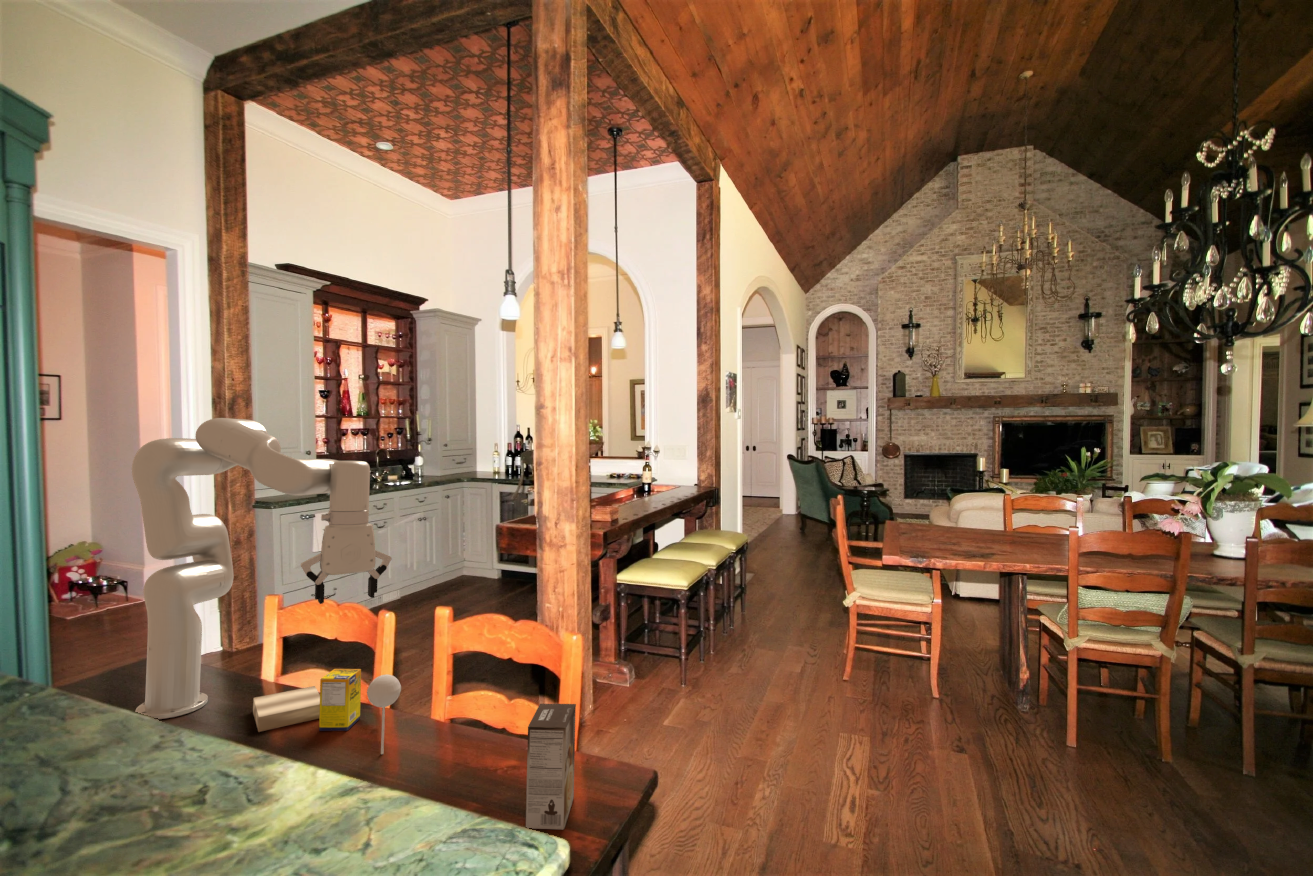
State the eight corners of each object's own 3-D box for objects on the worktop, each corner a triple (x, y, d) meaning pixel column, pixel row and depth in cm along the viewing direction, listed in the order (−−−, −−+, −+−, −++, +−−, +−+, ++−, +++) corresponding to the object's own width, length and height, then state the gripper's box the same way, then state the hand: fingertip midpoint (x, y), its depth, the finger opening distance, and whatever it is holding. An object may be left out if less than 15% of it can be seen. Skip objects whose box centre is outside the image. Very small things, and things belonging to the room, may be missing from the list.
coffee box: (537, 796, 104) (539, 701, 104) (574, 797, 104) (576, 702, 104) (524, 829, 95) (527, 725, 95) (565, 831, 95) (567, 727, 95)
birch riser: (252, 711, 134) (253, 698, 134) (314, 699, 142) (314, 686, 142) (258, 732, 125) (258, 717, 125) (323, 717, 132) (324, 703, 132)
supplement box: (360, 719, 132) (362, 668, 132) (347, 731, 126) (349, 678, 126) (332, 718, 132) (334, 668, 132) (318, 731, 126) (320, 678, 126)
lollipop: (406, 749, 119) (408, 672, 119) (383, 764, 113) (386, 683, 114) (380, 744, 121) (383, 668, 121) (357, 758, 115) (360, 678, 116)
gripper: (304, 522, 121) (301, 609, 121) (396, 518, 131) (394, 598, 131) (300, 519, 127) (297, 601, 127) (388, 515, 137) (385, 591, 137)
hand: (346, 599), depth 129 cm, fingers open, 9 cm apart
